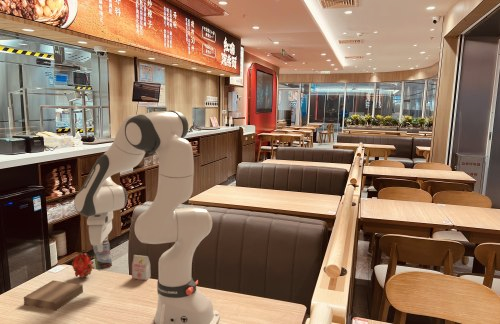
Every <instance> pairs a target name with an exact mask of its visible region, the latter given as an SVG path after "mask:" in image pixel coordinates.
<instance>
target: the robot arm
mask: <svg viewBox="0 0 500 324" xmlns="http://www.w3.org/2000/svg"><path fill="white" fill-rule="evenodd" d="M188 132H189V121H188V119H187V117H186V116H185V115H184V114H183V113H182V112H180V111H176V110H166V111H151V112H147V113H142V114H130V115H127V116H126V117H125V118H124V119H123V120H122V122H121V124H120V126H119V128H118V130H117V132H116V134H115V137H114V140H113V142H112V144H111V145H110V147H109V148H108V149H107V150H106V151H105V152H104V153H103V154H101V155H100V156H99V157H98V158H97V159H96V160H95V163H94V164H93V166H92V168H91V170H90V172H89V173H88V175H87V178H86V179H85V181H84V183H83V184H82V186H81V188H80V189H79V190H78V191H77V193H75V194H76V195H75V196H74V201H73V202H74V203H73V205H74V210H75V212H77V213H78V214H80V215H81V216H83V217H86V225H87V226H88V236H89V242H90V244H91V246H93V245H97V248H98V252H102V251H103V244H102V243H103V241H104V239H107V240H108V239H109V234H110V233H111V232H112V230H113V219H114V212H115V211H119V210H121V209H124V208H125V206H126V205H127V202H128V193H127V189H125V188H124V187H123V186H122V185H119V184H117V183H115V182H114V181H113V179H112V176H113V175H116V174H118V173H121V172H124V171H128V170H131V169H133V168H135V167H137V166H138V165H140V164H141V162H142V160H143V159H144V157H145V155H146V154H148V155H152V154H154V153H156V154H157V156H158V181H157V190H156V195H155V198H154V199H153V201H152V203H151V204H150V206H149V207H147V208H146V209H145V211H143V212H141V214H139V215H138V217H137V218H136V220H135V222H134V234H135V236H136V238H137V239H138V241H139V242H141V244H150V245H151V244H152V245H160V244H167V243H174V244H173V245H172V246H171V247H170V248H169V249H167V250H166V251H164V252H163V253H162V254H161V256H160V257H159V259H158V279H157V284H156V285H157V286H156V287H157V295H158V297H157V298H158V299H157V306H156V312H155V316H154V323H155V324H218V323H219V321H220V320H221V319H220V317H221V316H220V315H221V314H220V312H219V311H218V310H216V309H214V306H213V302H212V300H211V299H210V298H209V297H207V295H205V294H204V293H203V292H202V291H200V290H199V289H198V288H197V285H198V284H199V280H198V279H197V280H196V281H195V280H194V279H193V277H192V267H193V266H192V265H193V264H192V263H193V257H194V254H195V251H196V249H197V247H198V246H199V245H200V243H201V242H202V241H203V240H204V239H205V238H206V237H207V236H208V235H209V234H210V233H211V231H212V228H213V218H212V215H211V214H210V212H209V211H208V210H207V209H206V208H202V207H194V206H193V207H181V208H179V206H180V205H182V204H184V203H185V202H187V201H188V200H189V199H190V198H191V196H192V194H193V191H194V175H195V174H194V173H195V164H194V163H195V162H194V161H195V160H194V151H193V147H192V144H191V143H190V142H189V140H187V139H185V137H186V136H187V134H188ZM108 241H109V240H108Z"/></svg>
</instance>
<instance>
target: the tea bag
mask: <svg viewBox="0 0 500 324" xmlns="http://www.w3.org/2000/svg"><path fill="white" fill-rule="evenodd" d="M151 273H152V271H151V262H150V258H149V256H148V255H140V254H139V255H137V254H133V258H132V262H131V279H132V280H139V281H144V282H145V281H148V280H149V279H150V278H152V275H151Z"/></svg>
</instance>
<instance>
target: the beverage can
mask: <svg viewBox="0 0 500 324" xmlns="http://www.w3.org/2000/svg"><path fill="white" fill-rule="evenodd" d="M102 244H103V251H102V252H98V248H97V245H92V247H93V256H94V258H93V259H94V263H95V264H94V265H95V266H94V267H95V270H98V271H99V272H101V271H105V270H109V269H111V268H112V266H113V263H112V256H111V255H112V254H111V246H110V242H109V240H107V239H104V241H103V243H102Z"/></svg>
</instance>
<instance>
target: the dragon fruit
mask: <svg viewBox="0 0 500 324" xmlns="http://www.w3.org/2000/svg"><path fill="white" fill-rule="evenodd" d="M92 258H93V259H95V258H94V255H88V253H87V252H86V250H84V249H83V250H81V251H80V252H79V253H78V255H77V256H74V258H73V261H71V262H72V263H71V266H72V269H73V271H74V275H75V277H79V278H81V279H82V278H85V277H88V276H89V275H91V273H92V271H93V270H94V269H95V266H94V263H95V261H93V260H91V259H92Z"/></svg>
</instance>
